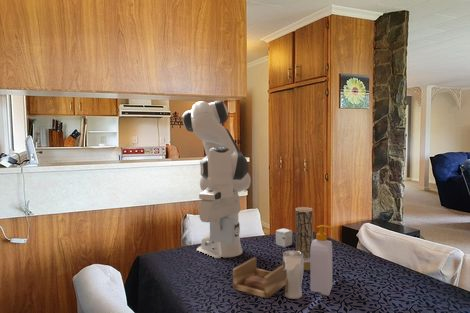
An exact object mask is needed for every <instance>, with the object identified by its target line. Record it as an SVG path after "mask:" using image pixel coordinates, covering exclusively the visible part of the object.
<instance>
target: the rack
mask: <svg viewBox="0 0 470 313" xmlns="http://www.w3.org/2000/svg"><path fill="white" fill-rule="evenodd" d="M250 275H252V276H257V277H262V278H264V291H262V290H258V289H254V288H251V287H247V286H244V282H245V279H246V278H248V277H249V276H250ZM283 287H285V279H284V274H283V264H281V265H280V266H278V267H277V268H276V269H273V271H271V270H266V269H263V268H262V269H261V268H257V257H251V258H250V259H248V260H247V261H246V260H245V261H244V262H243V263H241V264H239V265H238V266H236V267H234V268H232V289H233V290H235V291H239V292H244V293H247V294H250V295H254V296H257V297H261V298H264V299H269V298H271V297H272V296H273V295H274V294H275V293H277V292H278V291H279V290H281V289H282V288H283Z"/></svg>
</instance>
